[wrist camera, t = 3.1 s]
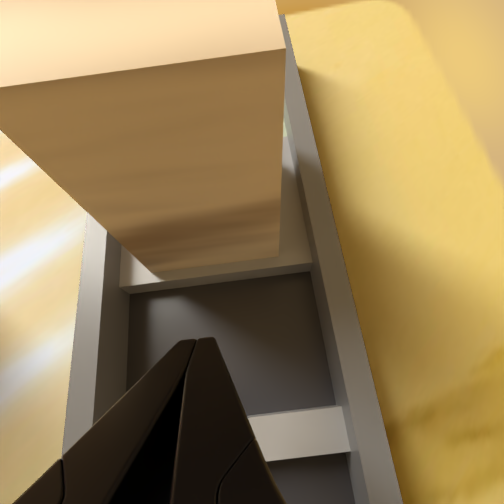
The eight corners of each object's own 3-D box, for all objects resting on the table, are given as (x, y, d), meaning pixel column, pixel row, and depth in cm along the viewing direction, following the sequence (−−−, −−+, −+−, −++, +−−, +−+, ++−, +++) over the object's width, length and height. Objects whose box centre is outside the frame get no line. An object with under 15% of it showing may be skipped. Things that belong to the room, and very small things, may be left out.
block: (278, 256, 15) (285, 47, 6) (151, 272, 15) (-40, 92, 6) (262, 154, 17) (250, -109, 8) (152, 168, 17) (18, -75, 8)
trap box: (421, 689, 10) (474, 796, 8) (86, 725, 11) (21, 844, 8) (283, 60, 22) (284, 14, 20) (125, 81, 22) (104, 38, 20)
